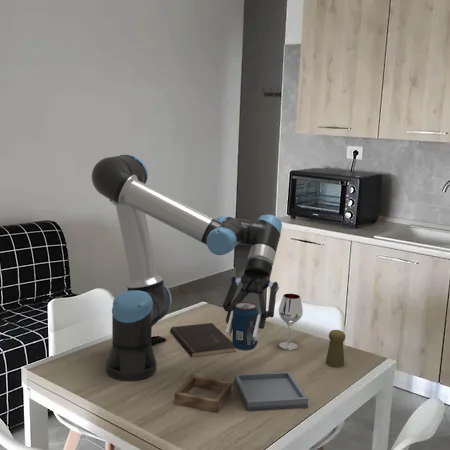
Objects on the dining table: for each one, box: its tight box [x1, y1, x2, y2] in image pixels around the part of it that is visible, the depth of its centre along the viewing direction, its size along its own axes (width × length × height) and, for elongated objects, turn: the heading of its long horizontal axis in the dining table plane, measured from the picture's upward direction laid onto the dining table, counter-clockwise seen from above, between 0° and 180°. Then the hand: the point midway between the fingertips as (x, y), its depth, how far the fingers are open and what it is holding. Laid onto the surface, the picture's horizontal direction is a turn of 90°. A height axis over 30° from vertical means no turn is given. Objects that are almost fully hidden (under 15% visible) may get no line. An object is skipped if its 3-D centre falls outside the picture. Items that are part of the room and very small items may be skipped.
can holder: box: [174, 374, 233, 414], centre depth 164 cm, size 12×12×3 cm
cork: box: [324, 329, 346, 368], centre depth 190 cm, size 6×6×11 cm
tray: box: [233, 371, 309, 412], centre depth 168 cm, size 17×17×2 cm
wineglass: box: [278, 293, 304, 351], centre depth 201 cm, size 8×8×18 cm
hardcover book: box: [170, 322, 237, 358], centre depth 204 cm, size 16×23×2 cm
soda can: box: [231, 301, 259, 352], centre depth 161 cm, size 7×7×12 cm
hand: (241, 336), depth 159 cm, fingers closed on soda can, 7 cm apart
